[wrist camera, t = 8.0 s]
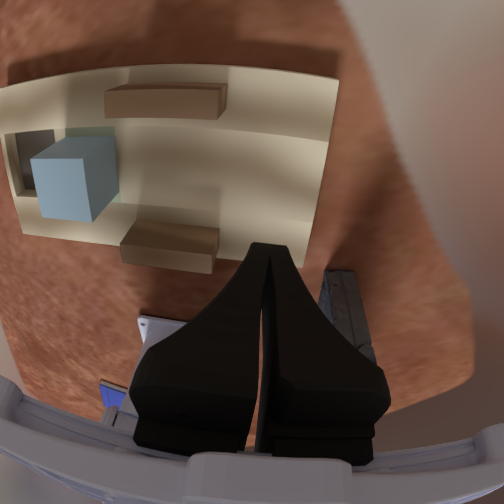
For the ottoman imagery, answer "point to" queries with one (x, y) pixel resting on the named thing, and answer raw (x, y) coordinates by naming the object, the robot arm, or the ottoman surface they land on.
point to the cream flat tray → (181, 157)
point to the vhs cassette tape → (346, 309)
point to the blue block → (76, 177)
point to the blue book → (112, 394)
